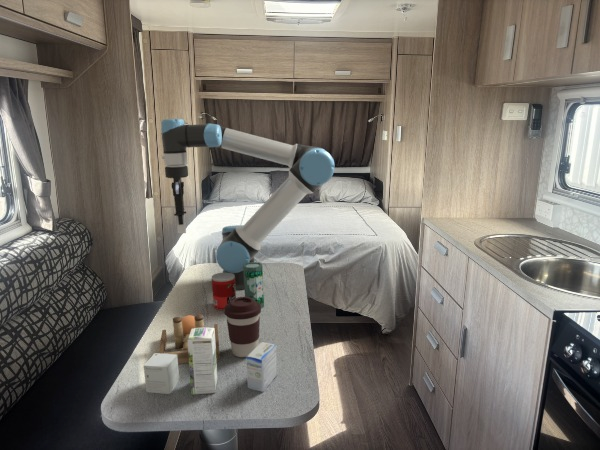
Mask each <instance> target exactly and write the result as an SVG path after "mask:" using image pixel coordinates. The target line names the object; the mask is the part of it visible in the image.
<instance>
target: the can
mask: <svg viewBox="0 0 600 450" xmlns="http://www.w3.org/2000/svg"><path fill="white" fill-rule="evenodd" d="M243 271H244V289H243V290H244V297H251V298H253V299H254V300H255V301H256V302H258V303H260V305H261V309H263V308H264V307H265V297H264V296H265V295H264V293H265V292H264V274H263V273H264V271H263V264H262V262H257V261H256V262H255V261H254V262H249V263H246V264H244V265H243Z"/></svg>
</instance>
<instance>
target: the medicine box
mask: <svg viewBox="0 0 600 450" xmlns="http://www.w3.org/2000/svg"><path fill="white" fill-rule="evenodd" d="M245 358H246V359H245V360H246V361H245V362H246V377H247V378H246V379H247V380H246V381H247V388H248V389H250V390H253V391H258V392H260V393H262V392H265V391H266V389H267V388H268V387H269V386H270V384H271V383H272V382H273V381H274V380H275V378H276V377H277V376H278V346H277V344H273V343H270V342H263V341H260V343H258V346H257V347H256V348H255V349H254V350H253V351H252V352H251V353H250V354H249V355H248V356H247V357H245Z"/></svg>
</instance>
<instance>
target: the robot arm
mask: <svg viewBox="0 0 600 450" xmlns="http://www.w3.org/2000/svg"><path fill="white" fill-rule="evenodd" d="M160 125H161V127H160V128H161V133H160V134H161V140H162V150H163V155H162V157H161V159H162V160H164V162H163V163H164V165H165V167H164V176H165V178H167V179H173V182H171V183H170V184H171V185H170V186H171V189H172V196H173V198H174V209H175V213H173V215H174V217H175V218H176V228H177V234H186V233H187V228H186V217H185V214H187V211H185V205H184V195H185V191H184V187H185V182H184V181H182V178H187V177H188V176H189V168H188V166H187V164H188V154H187V148H189V149H190V148H219V149H225V150H227V151H232V152H235V153H237V154H238V153H239V154H243V155H247V156H251V157H254V158H258V159H261V160H262V159H263V160H265V161H270V162H273V163H275V164H276V163H277V164H280V165H285V166H288V168H289V169H288V177H287V178H286V179H285V181H283V182H282V183H281V185H280V186H279V187H277V189H276V190H275V191H274V192H273V194H271V195H270V196H269V197H268V199H267V200H266V201H265V202H264V203H263V204H262V205H261V206H260V207H259V208H258V209H257V211H256V212H255V213H254V214H253V215H252V216H251V217H250V218H249V219H248V220H247V221H246V222H245V223H244V224H243V225H242V224H239V225H228V226H224V227H222V230H221V231H222V232H221V235H222V241H221V243H219V246H218V247H217V249H216V254H215V255H216V256H215V257H216V258H215V259H216V262H217V264H218V266H219V267H220V269H222V272H221V273H223V272H227V273H232V274H234V275H235V288H236V290H240V291H241V290H244V271H243V265H244V264H246V263H249V262H255V256H256V255H257V254H258V252H259V251H260V250H261V249H262V246H261V243H262V242H263V241H264V240H265V239H266V238H267V237H268V236H269V235H270V234H271V233H272V232H273V230H275V228H277V226H278V225H279V224H280V223H281V222H282V221H283V220H284V219H285V218H286V217H287V215H288V214H289V213H290V212H292V211H293V209H294V208H295V207H296V206H297V205H298V204H299V203H300V202H301V201H302V200H303V199H304V198H305V196H306V195H308V194H309V195H310V194H314V193H315V192H317V190H318V189H319V188H320V187H321V186H322V185H324V184H326V183H327V182H329V181H330V180H331V178H332V177H333V175H334V172H335V165H336V164H335V160H334V157H332V155H331V154H330V153H329V152H328V151H327V150H325V149H324V148H322V147H320V146H311V145H304V144H300V143H295V144H289V143H285V142H282V141H278V140H273V139H270V138H266V137H263V136H258V135H256V134H255V135H254V134H250V133H247V132H243V131H240V130H236V129H232V128H228V127H224V126H220V124H215V123H212V122H211V123H210V122H209V123H205V124H203V123H202V124H186V123H185V120H184V119H183V118H165V119H162V120H161V123H160Z"/></svg>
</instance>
